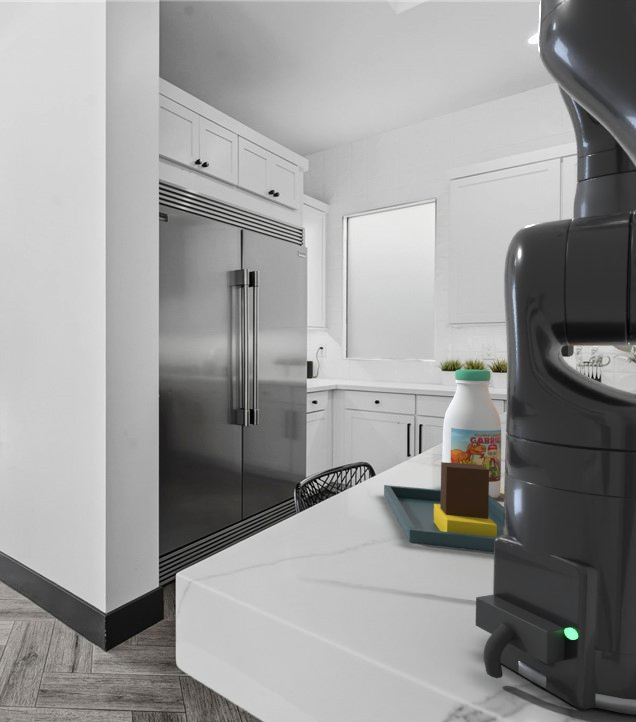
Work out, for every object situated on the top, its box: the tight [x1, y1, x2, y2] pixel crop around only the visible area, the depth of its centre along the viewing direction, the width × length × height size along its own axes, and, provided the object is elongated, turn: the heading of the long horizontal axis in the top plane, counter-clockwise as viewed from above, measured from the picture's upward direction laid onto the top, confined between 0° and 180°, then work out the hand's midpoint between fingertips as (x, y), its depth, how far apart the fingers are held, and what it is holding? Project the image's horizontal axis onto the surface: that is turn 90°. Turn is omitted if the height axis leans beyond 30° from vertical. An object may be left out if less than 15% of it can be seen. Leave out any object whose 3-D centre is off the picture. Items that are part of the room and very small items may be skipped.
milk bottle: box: [441, 369, 502, 499], centre depth 85 cm, size 8×8×20 cm
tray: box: [383, 484, 504, 553], centre depth 71 cm, size 22×14×2 cm, turn 159°
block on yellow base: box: [434, 461, 497, 537], centre depth 66 cm, size 7×5×8 cm
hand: (614, 357), depth 63 cm, fingers open, 8 cm apart
